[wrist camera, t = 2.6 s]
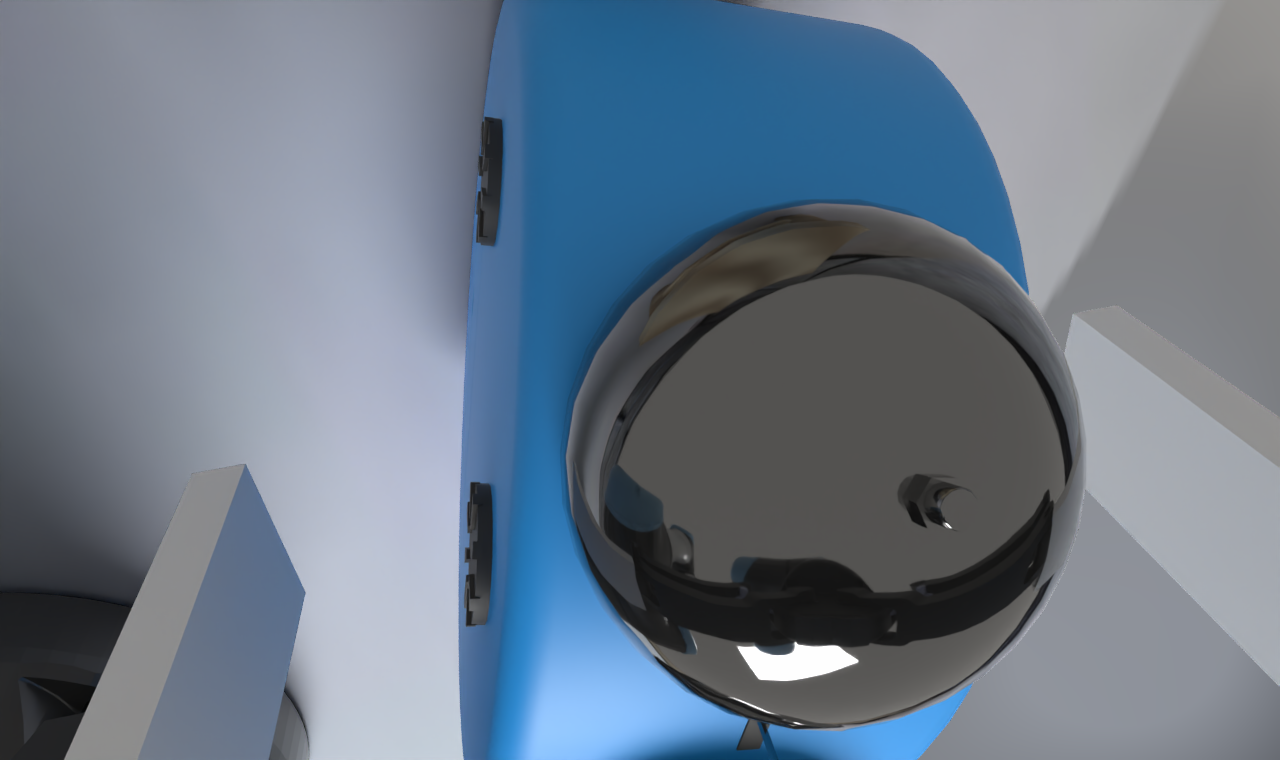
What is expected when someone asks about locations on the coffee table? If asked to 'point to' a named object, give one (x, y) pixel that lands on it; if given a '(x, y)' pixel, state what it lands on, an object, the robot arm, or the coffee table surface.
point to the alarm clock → (744, 394)
